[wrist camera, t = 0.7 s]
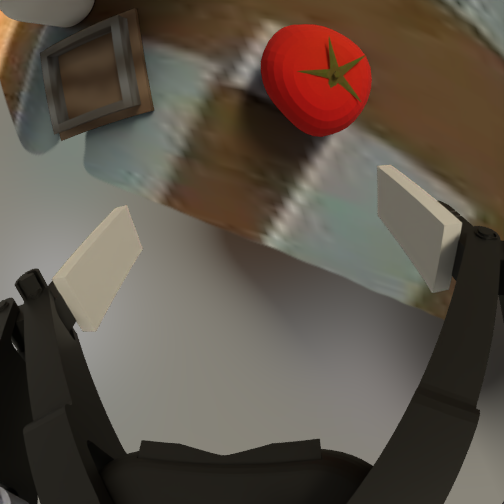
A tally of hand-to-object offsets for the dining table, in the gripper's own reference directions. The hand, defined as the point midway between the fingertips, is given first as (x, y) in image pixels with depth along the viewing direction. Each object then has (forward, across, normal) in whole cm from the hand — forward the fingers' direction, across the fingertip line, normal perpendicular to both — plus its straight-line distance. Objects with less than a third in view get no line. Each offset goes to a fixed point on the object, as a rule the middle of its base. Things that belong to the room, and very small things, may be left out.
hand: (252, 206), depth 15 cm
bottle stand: (+27, -21, +14) cm, 37 cm away
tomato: (+27, +8, +6) cm, 29 cm away
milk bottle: (+28, -23, +27) cm, 45 cm away
